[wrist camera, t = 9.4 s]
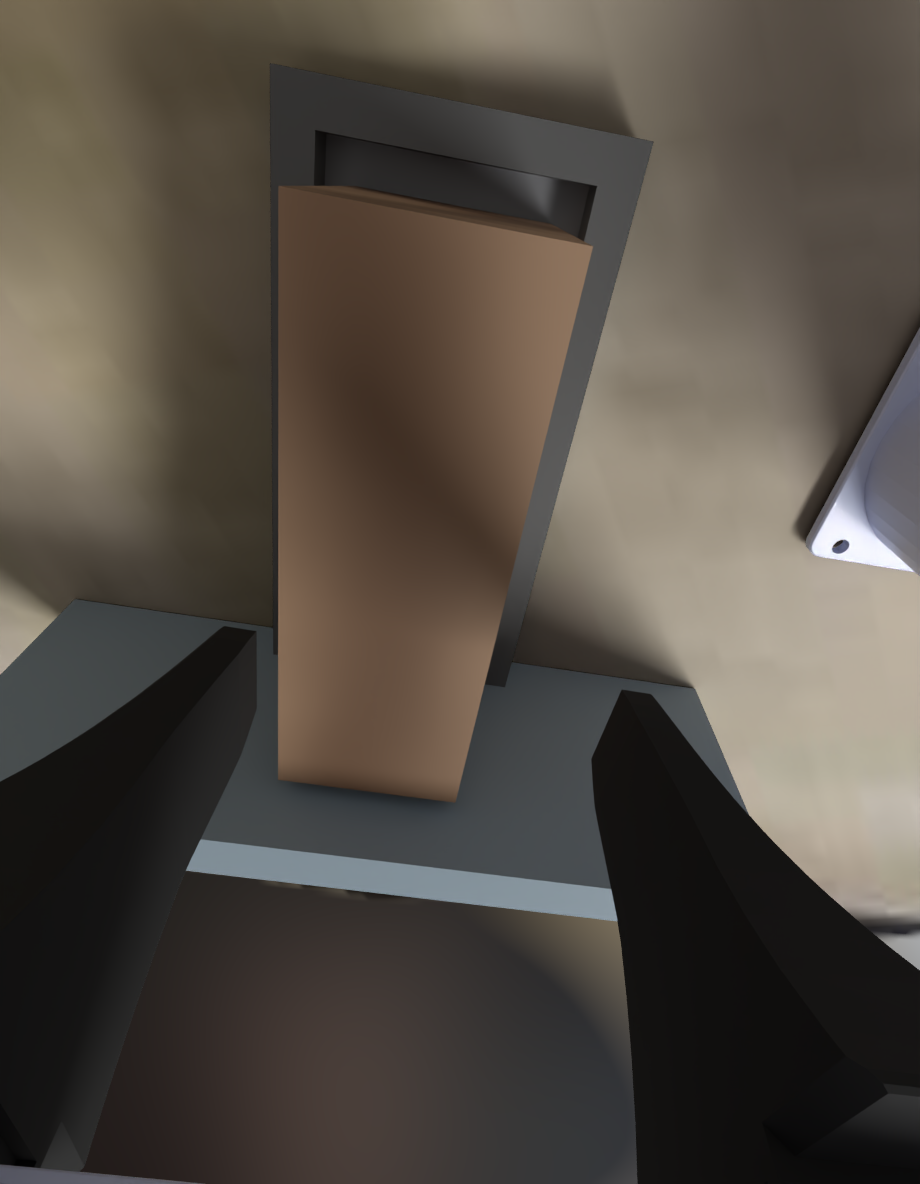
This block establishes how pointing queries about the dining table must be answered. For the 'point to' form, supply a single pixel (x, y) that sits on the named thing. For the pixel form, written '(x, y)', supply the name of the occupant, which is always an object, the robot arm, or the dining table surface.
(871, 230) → the dining table surface
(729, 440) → the dining table surface
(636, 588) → the dining table surface
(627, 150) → the wall board
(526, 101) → the dining table surface
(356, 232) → the brown wooden block
